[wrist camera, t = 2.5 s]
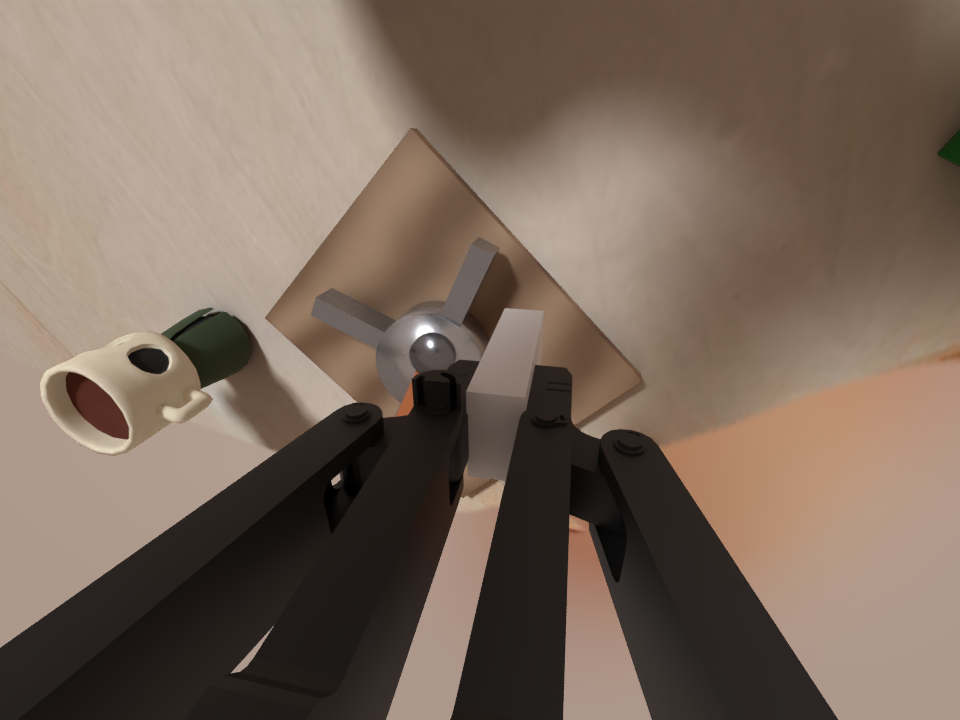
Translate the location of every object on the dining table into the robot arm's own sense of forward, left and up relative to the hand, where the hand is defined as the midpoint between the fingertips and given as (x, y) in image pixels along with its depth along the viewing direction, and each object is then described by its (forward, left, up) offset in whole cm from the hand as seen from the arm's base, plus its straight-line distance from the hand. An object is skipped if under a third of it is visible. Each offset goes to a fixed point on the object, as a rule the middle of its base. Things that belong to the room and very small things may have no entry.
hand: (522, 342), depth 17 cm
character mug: (-14, -27, -16) cm, 35 cm away
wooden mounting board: (0, -11, -16) cm, 19 cm away
